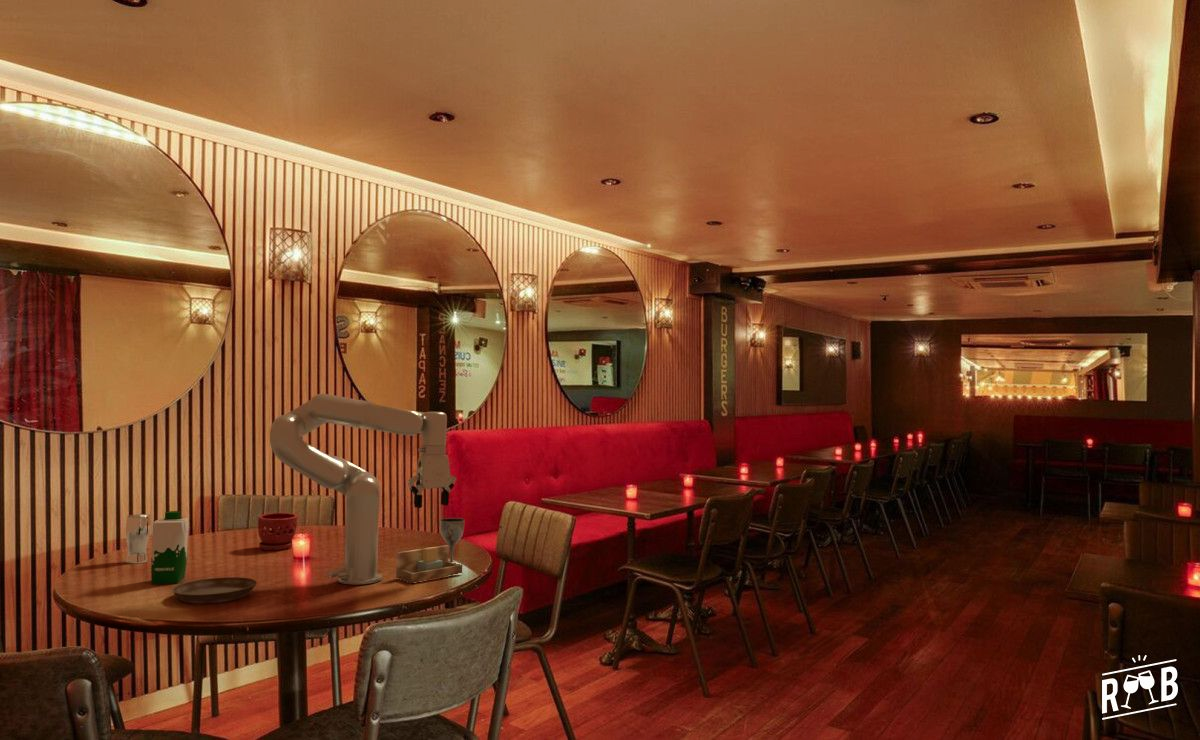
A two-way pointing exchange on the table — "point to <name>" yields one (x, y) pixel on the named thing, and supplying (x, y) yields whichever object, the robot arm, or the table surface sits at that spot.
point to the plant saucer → (214, 590)
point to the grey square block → (429, 560)
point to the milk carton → (169, 549)
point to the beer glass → (137, 537)
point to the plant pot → (276, 530)
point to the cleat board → (409, 571)
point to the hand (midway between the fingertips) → (431, 506)
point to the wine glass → (452, 532)
